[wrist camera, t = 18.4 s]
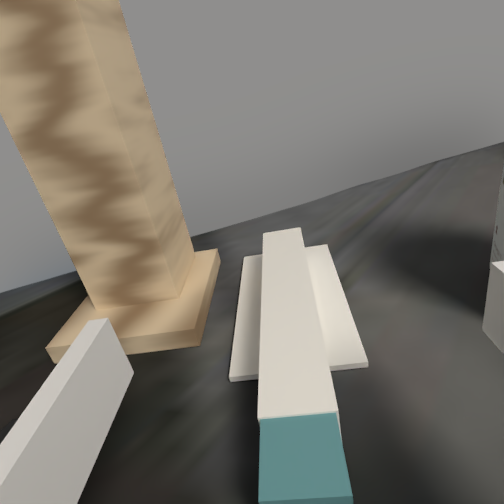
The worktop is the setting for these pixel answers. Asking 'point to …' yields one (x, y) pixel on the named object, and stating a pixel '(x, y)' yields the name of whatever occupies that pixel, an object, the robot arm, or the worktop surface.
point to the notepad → (329, 310)
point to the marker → (295, 386)
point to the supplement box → (499, 228)
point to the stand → (102, 172)
